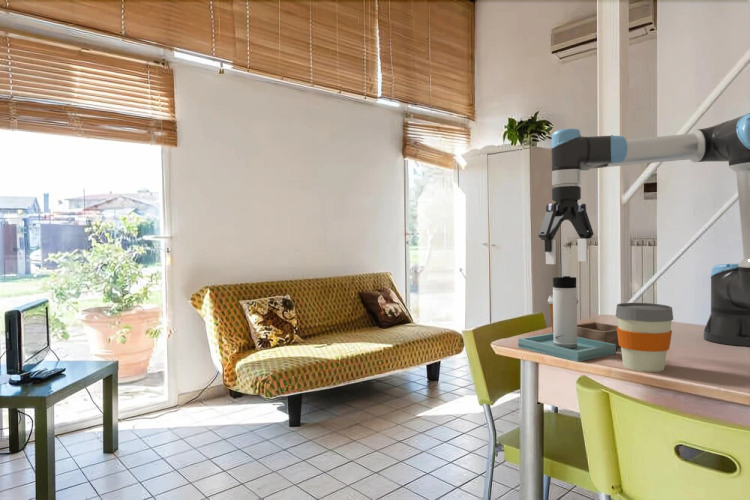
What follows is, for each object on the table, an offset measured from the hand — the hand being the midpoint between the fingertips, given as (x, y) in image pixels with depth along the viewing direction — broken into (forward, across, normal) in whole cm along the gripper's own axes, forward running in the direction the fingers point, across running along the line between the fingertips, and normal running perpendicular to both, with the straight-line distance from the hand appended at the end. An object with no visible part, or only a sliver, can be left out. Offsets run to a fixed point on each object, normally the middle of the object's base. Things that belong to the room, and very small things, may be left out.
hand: (567, 262), depth 145 cm
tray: (+25, +1, 0) cm, 25 cm away
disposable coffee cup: (+25, -18, -16) cm, 35 cm away
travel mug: (+24, +1, 0) cm, 24 cm away
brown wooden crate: (+25, -14, 0) cm, 29 cm away
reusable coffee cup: (+25, 0, +22) cm, 33 cm away
